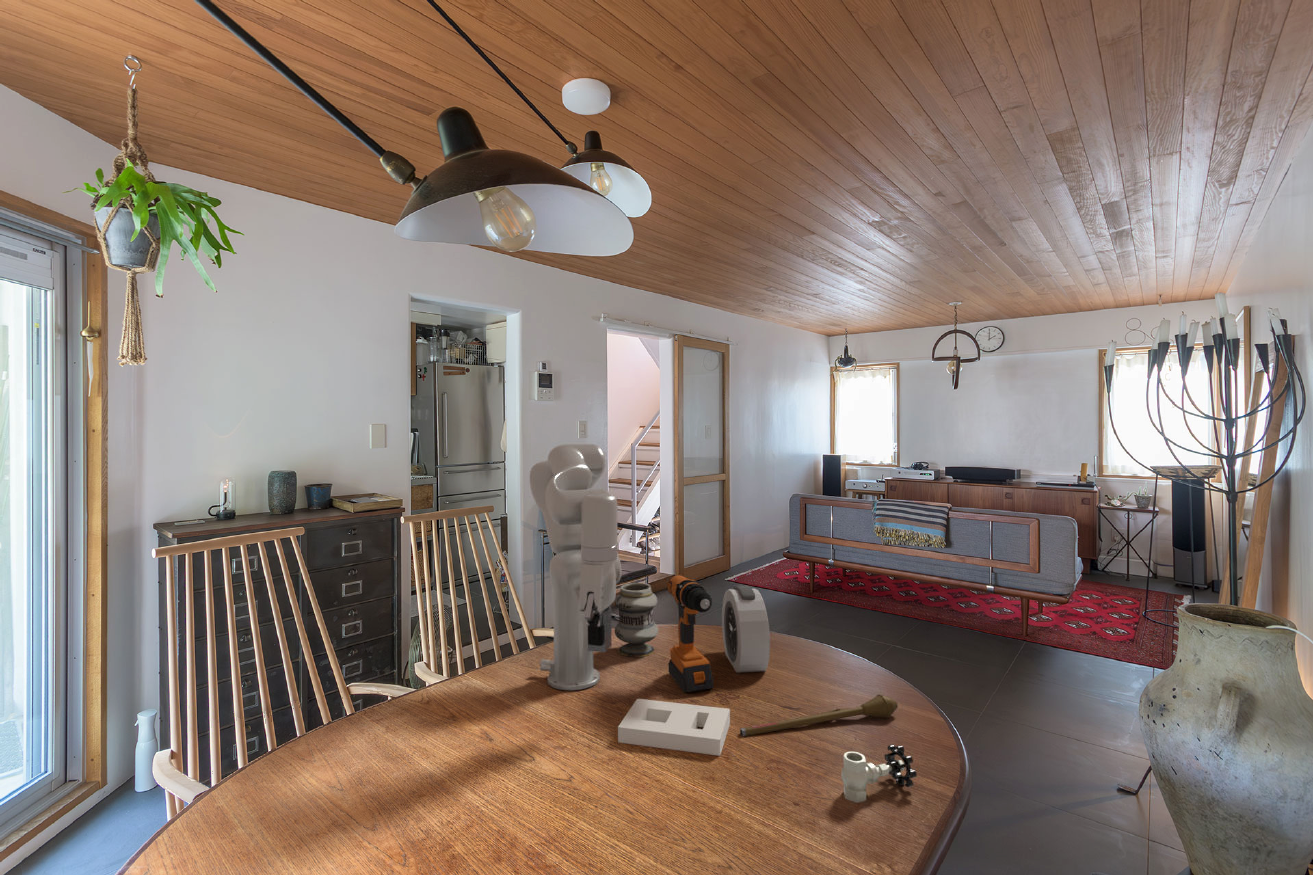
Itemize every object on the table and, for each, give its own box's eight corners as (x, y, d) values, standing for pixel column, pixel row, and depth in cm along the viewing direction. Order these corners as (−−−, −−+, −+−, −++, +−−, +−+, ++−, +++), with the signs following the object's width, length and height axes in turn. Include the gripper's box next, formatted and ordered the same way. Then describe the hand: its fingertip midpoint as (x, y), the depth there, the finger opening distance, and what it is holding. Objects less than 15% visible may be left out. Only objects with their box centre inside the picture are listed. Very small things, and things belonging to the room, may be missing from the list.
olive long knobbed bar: (746, 749, 117) (738, 740, 122) (903, 719, 125) (889, 711, 130) (744, 724, 118) (736, 716, 122) (901, 696, 126) (887, 689, 130)
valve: (857, 811, 95) (917, 794, 100) (857, 769, 95) (916, 755, 100) (831, 788, 102) (888, 773, 106) (831, 749, 102) (888, 736, 106)
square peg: (588, 650, 124) (587, 612, 124) (594, 644, 128) (594, 606, 127) (605, 652, 123) (605, 613, 123) (611, 645, 127) (611, 608, 127)
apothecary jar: (610, 657, 162) (609, 590, 162) (620, 642, 174) (619, 580, 174) (654, 660, 160) (653, 592, 160) (661, 644, 172) (660, 581, 172)
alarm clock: (721, 648, 168) (721, 577, 168) (748, 647, 169) (747, 576, 169) (740, 679, 147) (740, 598, 147) (770, 677, 148) (770, 596, 148)
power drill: (725, 702, 134) (725, 591, 134) (694, 707, 132) (693, 593, 132) (692, 667, 155) (692, 570, 155) (665, 670, 153) (664, 572, 153)
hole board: (618, 742, 117) (618, 726, 117) (637, 712, 130) (637, 698, 130) (720, 755, 112) (719, 739, 112) (729, 723, 125) (729, 708, 125)
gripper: (596, 544, 134) (596, 626, 134) (566, 561, 118) (566, 654, 118) (628, 546, 132) (628, 629, 132) (602, 563, 116) (602, 657, 116)
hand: (599, 640), depth 125 cm, fingers closed on square peg, 3 cm apart
